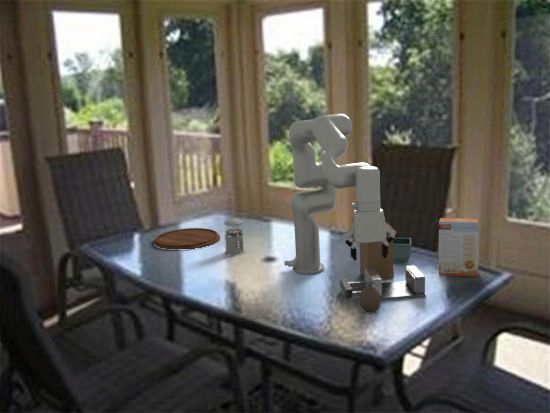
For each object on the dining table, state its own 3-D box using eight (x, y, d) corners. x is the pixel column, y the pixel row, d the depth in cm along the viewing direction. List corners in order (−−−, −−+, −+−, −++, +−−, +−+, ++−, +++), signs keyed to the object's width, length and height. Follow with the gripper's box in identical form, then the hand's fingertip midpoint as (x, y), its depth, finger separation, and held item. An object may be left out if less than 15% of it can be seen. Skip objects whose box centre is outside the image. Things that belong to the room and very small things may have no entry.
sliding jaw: (346, 298, 206) (346, 281, 205) (340, 286, 218) (339, 270, 216) (381, 295, 207) (381, 279, 205) (373, 283, 218) (373, 267, 217)
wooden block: (394, 279, 226) (393, 227, 221) (368, 282, 224) (367, 230, 220) (384, 270, 235) (384, 220, 231) (359, 273, 234) (358, 223, 229)
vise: (368, 302, 206) (367, 282, 204) (359, 287, 219) (358, 268, 218) (425, 297, 207) (426, 277, 206) (413, 283, 221) (413, 264, 219)
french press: (220, 255, 266) (215, 199, 261) (231, 247, 277) (227, 193, 271) (240, 256, 263) (236, 200, 257) (251, 248, 273) (248, 194, 267)
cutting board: (185, 229, 313) (185, 224, 313) (234, 236, 295) (233, 231, 294) (138, 246, 288) (138, 241, 288) (188, 255, 270) (187, 249, 269)
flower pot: (411, 266, 239) (411, 244, 237) (388, 265, 241) (388, 243, 239) (411, 258, 248) (410, 237, 246) (388, 258, 249) (388, 237, 247)
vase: (357, 307, 202) (356, 282, 200) (377, 305, 203) (377, 280, 201) (362, 315, 195) (361, 290, 193) (383, 314, 196) (382, 288, 194)
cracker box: (478, 272, 228) (479, 218, 224) (477, 277, 223) (479, 222, 218) (439, 269, 233) (439, 217, 228) (438, 275, 228) (438, 221, 223)
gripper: (343, 210, 187) (345, 264, 190) (398, 206, 188) (399, 259, 192) (338, 205, 194) (340, 256, 198) (391, 201, 195) (392, 252, 199)
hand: (369, 258), depth 195 cm, fingers open, 9 cm apart
